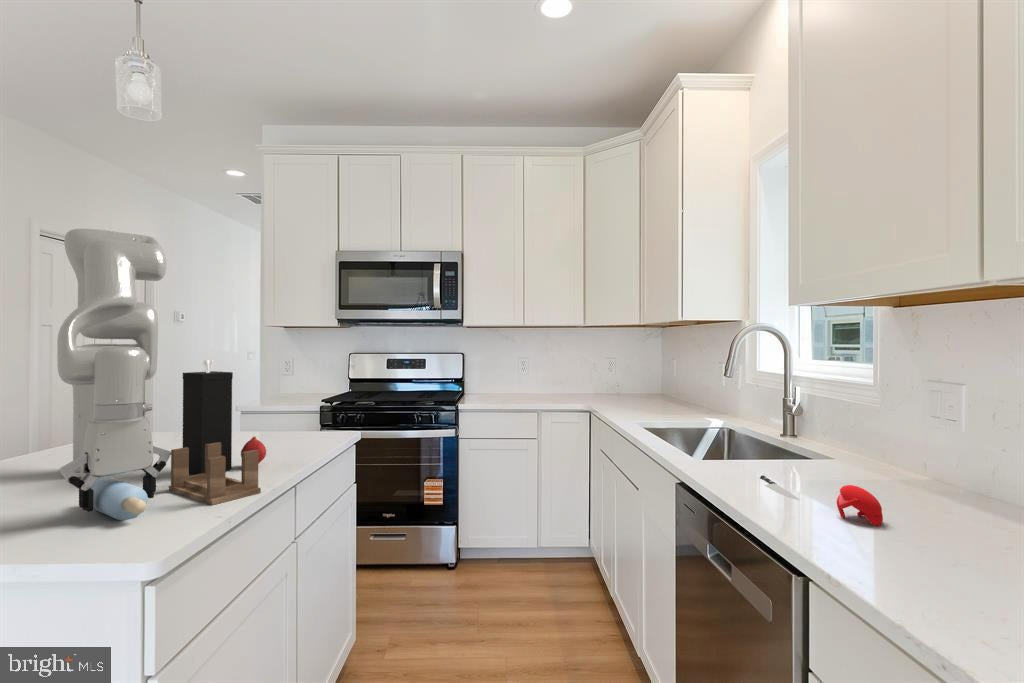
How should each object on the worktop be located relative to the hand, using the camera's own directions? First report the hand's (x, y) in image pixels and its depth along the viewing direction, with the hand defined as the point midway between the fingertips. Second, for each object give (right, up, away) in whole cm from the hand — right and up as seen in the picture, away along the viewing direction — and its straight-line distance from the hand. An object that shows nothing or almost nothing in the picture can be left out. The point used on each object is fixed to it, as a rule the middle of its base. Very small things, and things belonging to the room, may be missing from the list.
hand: (119, 503), depth 96 cm
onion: (+7, -2, +36) cm, 37 cm away
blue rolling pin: (0, -2, 0) cm, 2 cm away
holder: (+10, -2, +14) cm, 17 cm away
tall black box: (-2, -2, +31) cm, 31 cm away
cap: (+139, -3, -1) cm, 139 cm away
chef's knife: (+134, -3, +19) cm, 135 cm away
